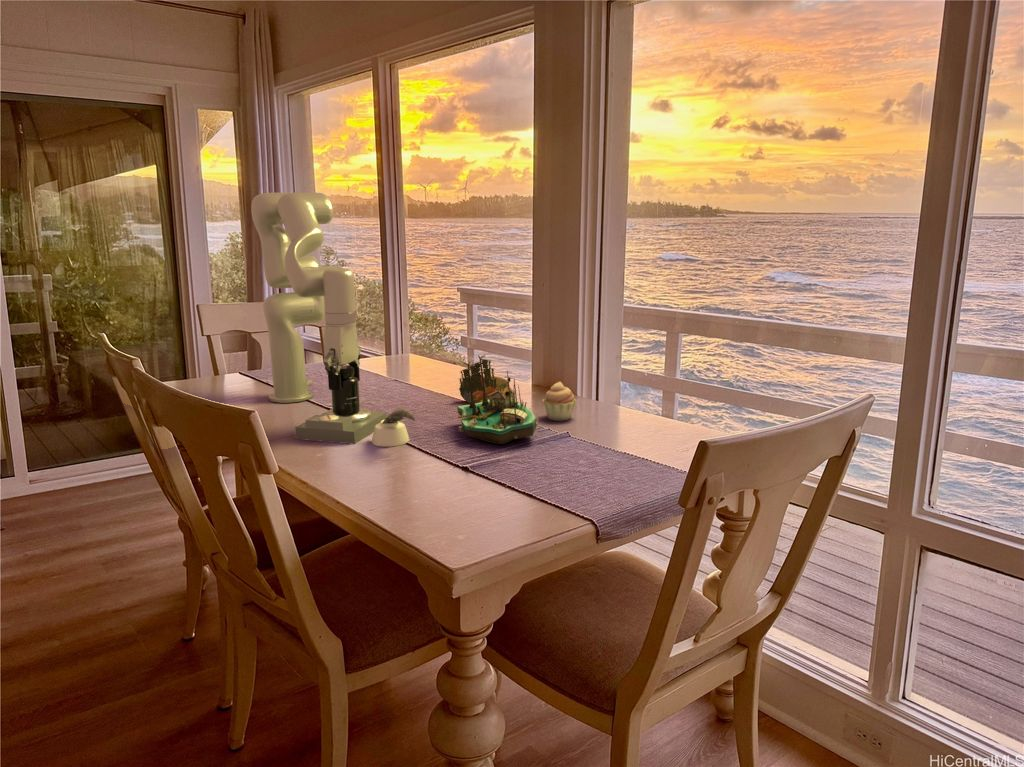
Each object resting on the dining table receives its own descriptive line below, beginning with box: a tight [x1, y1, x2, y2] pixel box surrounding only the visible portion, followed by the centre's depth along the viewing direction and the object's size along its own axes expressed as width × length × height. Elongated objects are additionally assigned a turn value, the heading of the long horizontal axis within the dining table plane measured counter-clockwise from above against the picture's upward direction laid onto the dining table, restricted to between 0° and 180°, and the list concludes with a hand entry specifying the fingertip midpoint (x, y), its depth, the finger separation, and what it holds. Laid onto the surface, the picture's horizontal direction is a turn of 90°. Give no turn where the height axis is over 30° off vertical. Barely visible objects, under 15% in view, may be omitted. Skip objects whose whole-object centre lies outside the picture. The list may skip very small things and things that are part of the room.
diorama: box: [456, 354, 539, 445], centre depth 178 cm, size 19×25×19 cm
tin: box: [459, 375, 508, 404], centre depth 208 cm, size 15×3×8 cm, turn 68°
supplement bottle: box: [331, 365, 361, 416], centre depth 184 cm, size 7×7×12 cm
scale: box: [294, 408, 388, 445], centre depth 183 cm, size 18×16×6 cm
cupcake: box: [541, 381, 578, 422], centre depth 192 cm, size 9×9×10 cm
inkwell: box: [371, 408, 416, 448], centre depth 170 cm, size 9×18×10 cm, turn 38°
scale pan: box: [323, 406, 371, 423], centre depth 185 cm, size 12×12×1 cm
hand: (344, 385), depth 183 cm, fingers open, 9 cm apart
